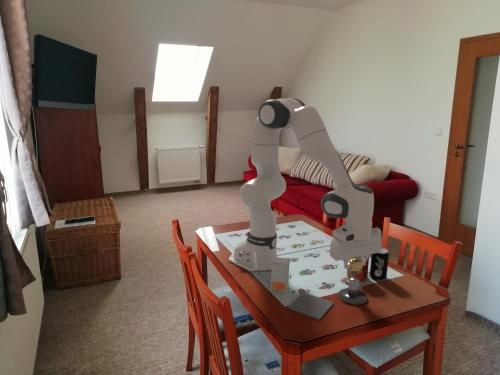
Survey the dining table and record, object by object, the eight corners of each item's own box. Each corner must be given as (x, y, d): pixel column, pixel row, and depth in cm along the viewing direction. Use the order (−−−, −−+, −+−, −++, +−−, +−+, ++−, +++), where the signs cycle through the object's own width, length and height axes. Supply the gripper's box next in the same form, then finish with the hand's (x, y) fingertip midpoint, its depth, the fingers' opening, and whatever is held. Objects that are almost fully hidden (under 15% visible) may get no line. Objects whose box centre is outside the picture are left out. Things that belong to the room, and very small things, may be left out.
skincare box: (270, 289, 141) (271, 260, 138) (273, 284, 145) (274, 256, 142) (286, 292, 139) (287, 263, 136) (288, 287, 143) (289, 258, 140)
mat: (287, 308, 129) (287, 306, 129) (303, 293, 138) (303, 292, 138) (319, 320, 122) (319, 318, 122) (333, 303, 132) (333, 302, 131)
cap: (344, 268, 134) (344, 257, 133) (355, 266, 136) (356, 255, 135) (353, 275, 130) (354, 263, 129) (365, 272, 132) (366, 261, 131)
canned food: (368, 282, 146) (370, 257, 144) (347, 280, 148) (349, 255, 145) (366, 273, 154) (368, 249, 151) (346, 271, 155) (348, 247, 152)
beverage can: (368, 279, 149) (371, 251, 146) (370, 272, 155) (372, 245, 152) (386, 282, 147) (389, 254, 144) (386, 275, 153) (389, 248, 150)
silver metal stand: (334, 299, 135) (335, 280, 133) (344, 287, 142) (345, 269, 141) (361, 308, 129) (363, 288, 127) (370, 295, 137) (372, 277, 135)
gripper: (375, 223, 136) (371, 258, 140) (328, 231, 128) (326, 267, 132) (387, 229, 130) (383, 265, 134) (339, 238, 123) (336, 275, 126)
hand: (354, 266), depth 133 cm, fingers closed on cap, 5 cm apart
